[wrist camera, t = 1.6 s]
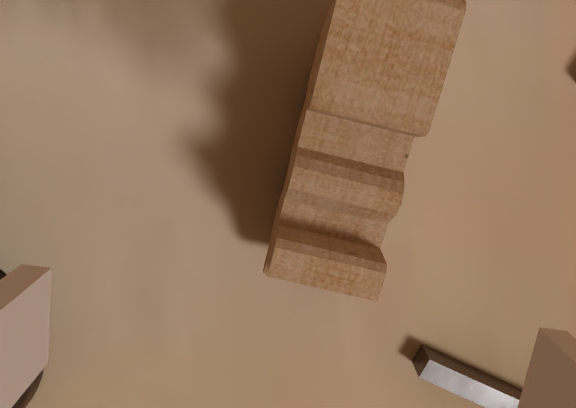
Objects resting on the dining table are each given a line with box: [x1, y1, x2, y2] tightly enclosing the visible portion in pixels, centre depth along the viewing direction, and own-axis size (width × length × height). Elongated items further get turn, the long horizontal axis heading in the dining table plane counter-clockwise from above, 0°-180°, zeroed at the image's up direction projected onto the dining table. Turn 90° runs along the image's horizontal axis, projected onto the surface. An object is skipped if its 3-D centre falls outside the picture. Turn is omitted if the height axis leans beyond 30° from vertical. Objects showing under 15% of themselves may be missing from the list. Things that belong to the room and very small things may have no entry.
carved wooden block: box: [263, 0, 466, 301], centre depth 29 cm, size 6×17×10 cm, turn 166°
